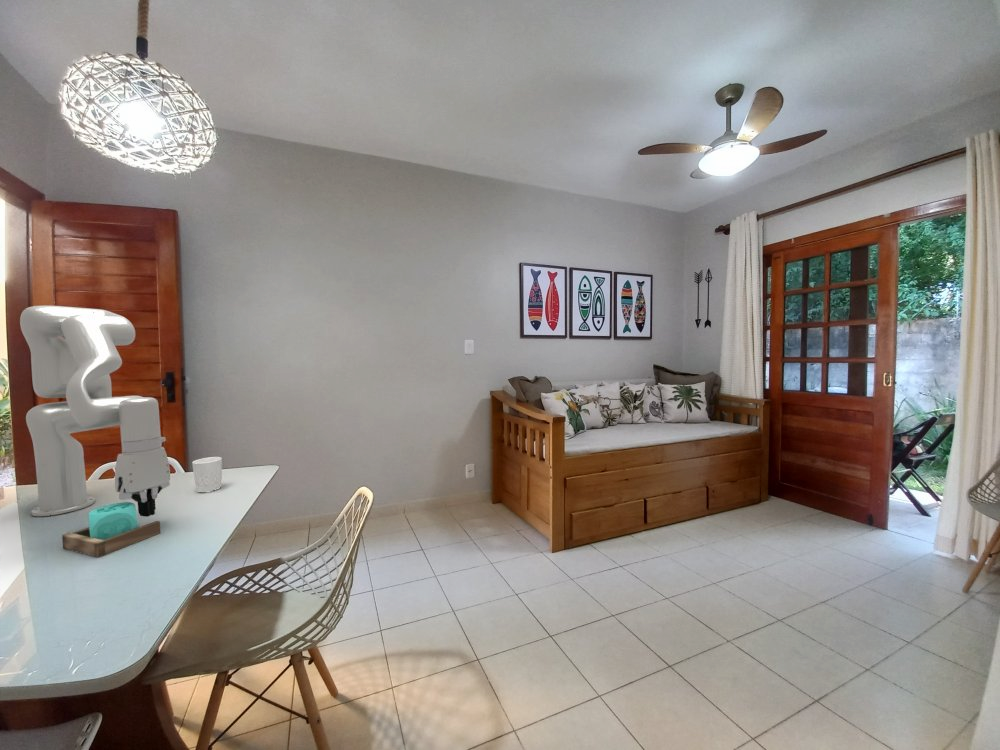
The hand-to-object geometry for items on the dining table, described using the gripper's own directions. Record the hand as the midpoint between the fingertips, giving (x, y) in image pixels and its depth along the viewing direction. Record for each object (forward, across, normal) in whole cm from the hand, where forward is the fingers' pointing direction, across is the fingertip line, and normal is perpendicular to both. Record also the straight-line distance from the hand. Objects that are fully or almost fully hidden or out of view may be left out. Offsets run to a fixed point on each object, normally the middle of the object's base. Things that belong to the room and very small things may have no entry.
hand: (147, 514), depth 102 cm
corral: (+4, +6, 0) cm, 7 cm away
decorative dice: (+4, +7, 0) cm, 8 cm away
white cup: (+4, -26, -14) cm, 30 cm away
